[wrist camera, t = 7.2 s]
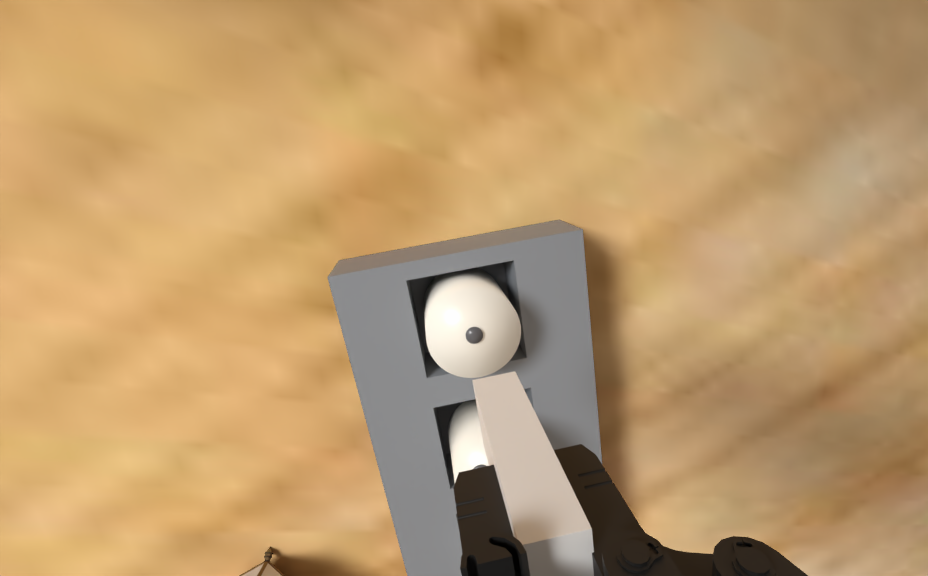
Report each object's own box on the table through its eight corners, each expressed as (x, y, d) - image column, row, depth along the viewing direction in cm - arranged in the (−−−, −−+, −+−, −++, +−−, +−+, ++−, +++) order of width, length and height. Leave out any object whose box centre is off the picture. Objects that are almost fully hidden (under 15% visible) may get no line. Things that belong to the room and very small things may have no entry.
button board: (339, 260, 27) (327, 277, 23) (559, 219, 28) (582, 229, 24) (415, 556, 34) (415, 606, 30) (588, 516, 35) (610, 560, 31)
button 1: (416, 274, 27) (417, 299, 22) (496, 258, 27) (515, 281, 22) (431, 347, 28) (435, 387, 23) (507, 332, 28) (527, 368, 24)
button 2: (441, 402, 27) (448, 456, 22) (519, 386, 28) (542, 435, 23) (455, 468, 29) (464, 531, 24) (528, 452, 29) (552, 511, 24)
